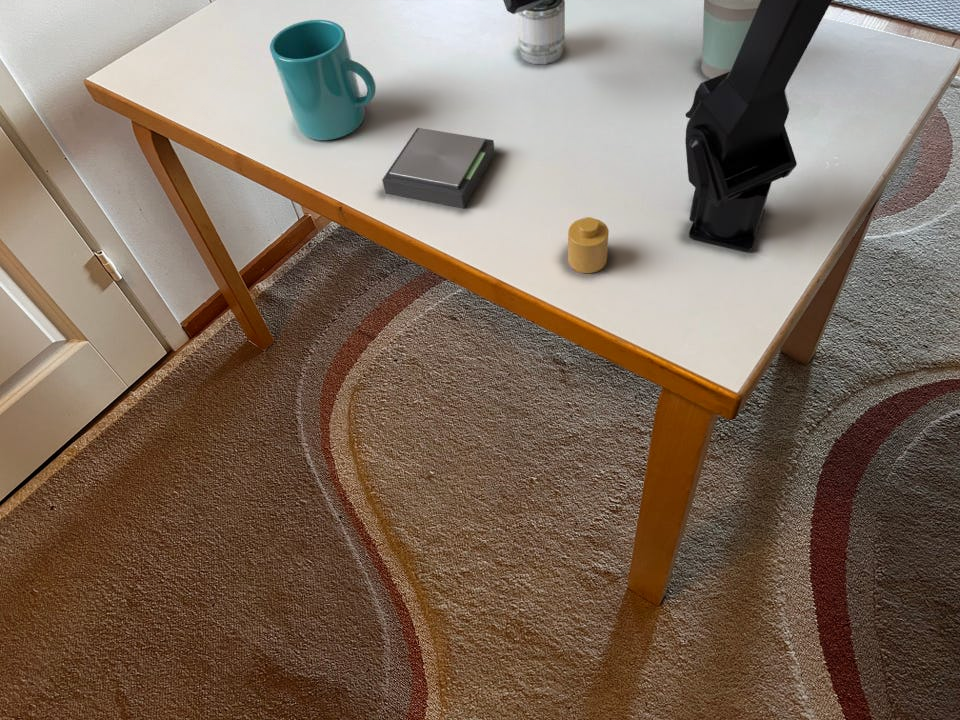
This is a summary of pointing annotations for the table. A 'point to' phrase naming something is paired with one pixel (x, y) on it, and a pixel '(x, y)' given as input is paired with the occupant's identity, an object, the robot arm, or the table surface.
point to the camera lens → (542, 32)
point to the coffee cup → (724, 33)
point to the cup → (321, 79)
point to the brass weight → (587, 245)
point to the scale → (439, 167)
